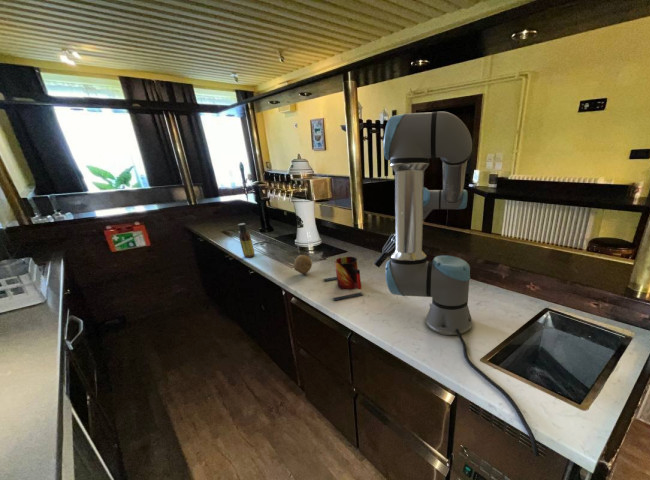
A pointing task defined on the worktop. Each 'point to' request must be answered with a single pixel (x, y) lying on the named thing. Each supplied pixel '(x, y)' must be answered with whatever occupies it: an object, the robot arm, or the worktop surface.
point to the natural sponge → (302, 264)
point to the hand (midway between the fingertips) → (376, 265)
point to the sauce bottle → (245, 241)
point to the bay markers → (343, 296)
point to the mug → (347, 273)
